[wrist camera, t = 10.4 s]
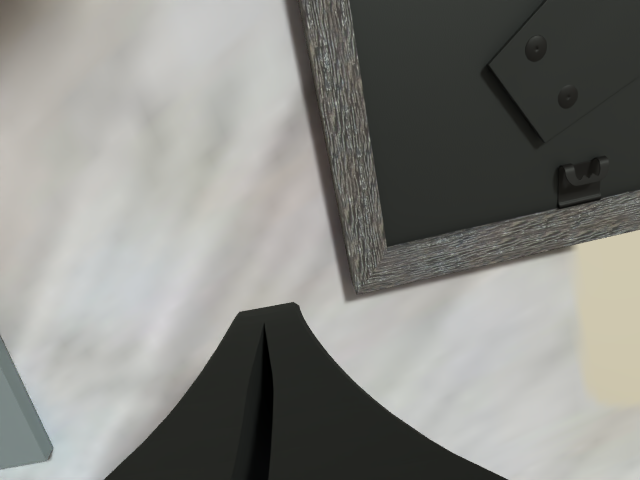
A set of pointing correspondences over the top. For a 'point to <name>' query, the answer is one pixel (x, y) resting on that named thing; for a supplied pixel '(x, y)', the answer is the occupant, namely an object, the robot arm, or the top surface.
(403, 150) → the picture frame
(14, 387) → the slate board
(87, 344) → the top surface
